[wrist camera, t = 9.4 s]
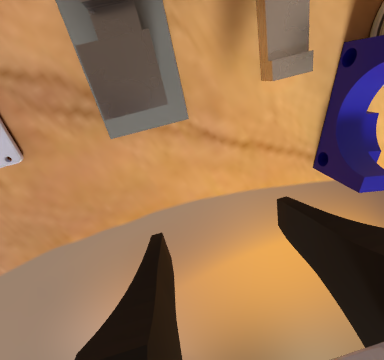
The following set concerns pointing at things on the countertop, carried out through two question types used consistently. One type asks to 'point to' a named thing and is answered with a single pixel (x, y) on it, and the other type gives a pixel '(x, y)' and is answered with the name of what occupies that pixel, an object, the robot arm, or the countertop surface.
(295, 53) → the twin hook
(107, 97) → the gray stepped bracket
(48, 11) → the countertop surface
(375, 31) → the coffee can
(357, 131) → the blue cradle bracket
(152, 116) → the pad
